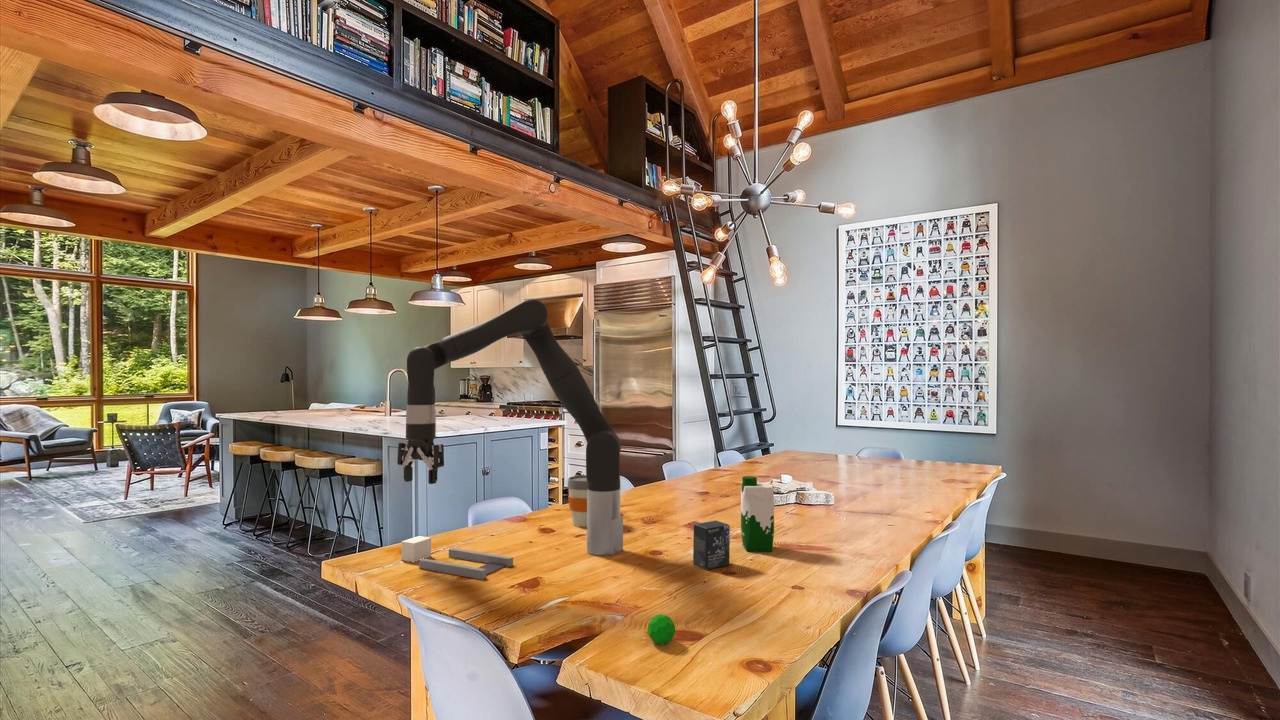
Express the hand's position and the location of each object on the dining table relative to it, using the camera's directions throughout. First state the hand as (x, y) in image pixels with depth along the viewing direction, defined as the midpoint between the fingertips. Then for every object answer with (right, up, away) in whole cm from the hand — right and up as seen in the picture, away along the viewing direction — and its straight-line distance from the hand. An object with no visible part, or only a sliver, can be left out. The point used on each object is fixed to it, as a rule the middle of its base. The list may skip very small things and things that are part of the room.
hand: (420, 482), depth 160 cm
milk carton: (+92, -21, +9) cm, 95 cm away
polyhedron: (+63, -19, -51) cm, 83 cm away
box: (+77, -20, -6) cm, 80 cm away
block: (-1, -20, 0) cm, 20 cm away
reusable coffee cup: (+41, -22, +38) cm, 60 cm away
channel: (+14, -20, -7) cm, 26 cm away
